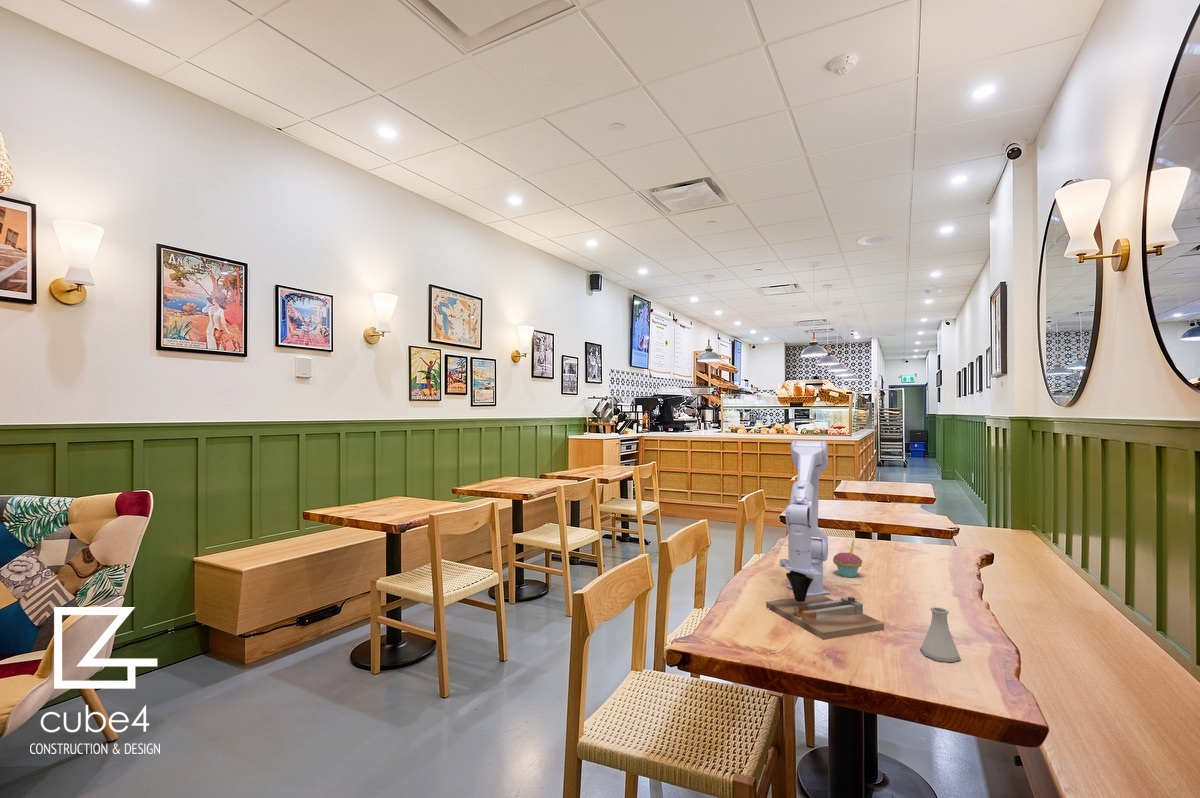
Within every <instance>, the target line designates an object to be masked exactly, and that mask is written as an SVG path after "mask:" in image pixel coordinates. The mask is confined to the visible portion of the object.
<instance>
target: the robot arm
mask: <svg viewBox="0 0 1200 798" xmlns="http://www.w3.org/2000/svg"><path fill="white" fill-rule="evenodd" d="M790 455H791V456H790V457H791V459H792V463H793V465H794V468H795V469H797V477H796V479H797V481H795V482H794V483H793V484H792V486H791V492H790V493H791V494H790V498H789V504H787V505H786V506H785V512H784V513H785V524H786V532H787V538H788V539H787V542H788V545H787V549H788V552H787V553H788V555H787V556H788V558H781V559H779V567H780V568H785V570H786V571H789V572H787V573H786V574H785V575H786V578H787V579H788V581H789V584H787V585H786V587H787V588H789V589H791V590H792V592H793V598H795V600H796V601H798V602H803V601H805V598H806V596H813V595H820V594H821V595H828V594H830V593H831V592H830V591H829V590H826V589H824V567H823V566H824V563H823V562H827V560H828V558H829V541H828V538H829V537H828V536H827V533H826V532H824V530H823V529H821V528H820V527H819V526H818V525H819V487H820V486H819V485H820V477H821V472H823V471H825V470H827V469H828V463H829V462H828V461H829V459H828V458H829V457H828V456H829V446H828V442H827V441H826V440H823V441H822V440H797V439H794V440H793V441H791V445H790Z"/></svg>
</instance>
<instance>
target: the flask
mask: <svg viewBox="0 0 1200 798" xmlns="http://www.w3.org/2000/svg"><path fill="white" fill-rule="evenodd" d="M930 612H931V621H930V626H929V627H928V630H927V633H926V636H925V638H924V639H923V642H922V644H921V646H920V648H919V650H920V652H921V653H922V654H923V656H925V657H927V658H930V659H931V660H935V661H937V662H946V663H947V662H948V663H954V662H957V661H961V660H962V658H961V656H960V653H959V651H958V649H957V646H956V645H955V644H956V643H955V641H954V639H953V636H952V634H951V631H950V627H949V624H948V615H949V613H950V612H949V610H948V609H947V608H944V607H938V606H932V607H930Z"/></svg>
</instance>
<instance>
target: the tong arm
mask: <svg viewBox="0 0 1200 798" xmlns="http://www.w3.org/2000/svg"><path fill="white" fill-rule="evenodd" d="M832 600H833V601H827V602H820V603H813V604H806V605H804V604H803V605H796V606H794V614H795V615H797V616H802V611H807V610H818V609H825V608H831V607H838V606H843V601H841V599H836V600H835V599H832Z"/></svg>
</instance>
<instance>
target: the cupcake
mask: <svg viewBox="0 0 1200 798" xmlns="http://www.w3.org/2000/svg"><path fill="white" fill-rule="evenodd" d="M854 540H855V538H853V540H852V541H851V545H850V550H849V552H839V553H837V554H835V555H834V556H833V558H832V562H833V564H834V565H836V567H837V570H838V574H839V575H840V576H842V577H844V578H855V577H857V573H858V570H859V568H861V567H862V564H863V560H862V559H861V558H860V556H858V555H857V554H855V553H853V552H854V551H853V550H854V545H855V541H854Z"/></svg>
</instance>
